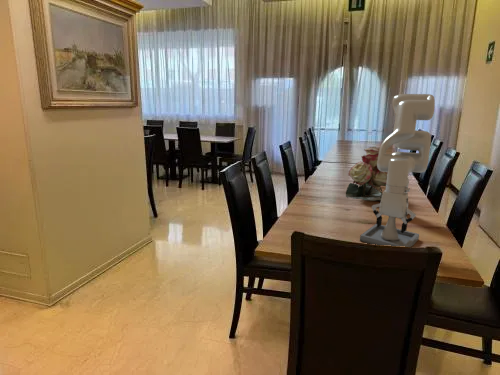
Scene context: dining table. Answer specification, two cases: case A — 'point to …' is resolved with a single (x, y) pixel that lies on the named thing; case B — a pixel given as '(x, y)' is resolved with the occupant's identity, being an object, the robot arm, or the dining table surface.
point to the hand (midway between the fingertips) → (390, 229)
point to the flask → (390, 230)
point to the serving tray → (375, 238)
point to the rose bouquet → (367, 177)
